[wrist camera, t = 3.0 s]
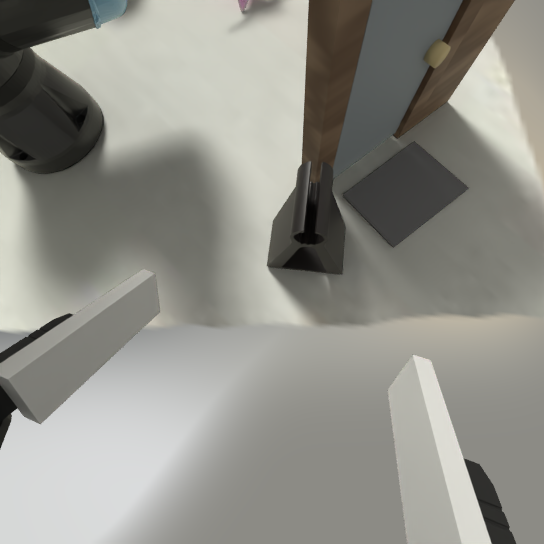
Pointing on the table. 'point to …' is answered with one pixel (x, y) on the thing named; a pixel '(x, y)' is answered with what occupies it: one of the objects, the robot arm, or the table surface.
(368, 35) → the door
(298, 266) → the phone stand
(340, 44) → the door frame
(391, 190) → the mat
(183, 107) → the table surface
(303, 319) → the table surface
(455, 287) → the table surface
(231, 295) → the table surface
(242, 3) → the lily
